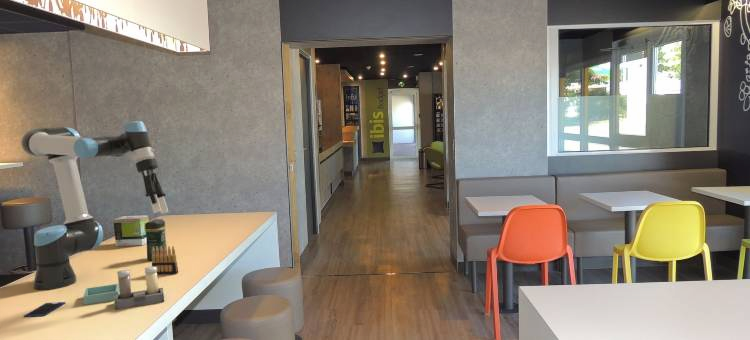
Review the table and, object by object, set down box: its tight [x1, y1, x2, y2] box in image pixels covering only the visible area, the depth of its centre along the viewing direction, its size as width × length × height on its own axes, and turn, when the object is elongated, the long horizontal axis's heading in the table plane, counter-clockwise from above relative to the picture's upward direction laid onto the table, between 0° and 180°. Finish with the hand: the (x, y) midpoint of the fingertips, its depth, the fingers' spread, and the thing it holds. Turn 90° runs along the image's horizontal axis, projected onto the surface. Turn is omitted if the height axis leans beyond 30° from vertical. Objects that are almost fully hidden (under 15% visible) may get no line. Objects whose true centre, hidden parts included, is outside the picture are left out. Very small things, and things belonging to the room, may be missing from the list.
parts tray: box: [82, 283, 120, 306], centre depth 208 cm, size 11×11×3 cm
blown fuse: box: [116, 269, 132, 299], centre depth 199 cm, size 4×4×12 cm
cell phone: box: [23, 301, 66, 318], centre depth 198 cm, size 7×14×1 cm, turn 0°
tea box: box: [113, 214, 150, 247], centre depth 300 cm, size 15×10×15 cm, turn 84°
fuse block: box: [114, 287, 165, 310], centre depth 201 cm, size 16×8×3 cm, turn 113°
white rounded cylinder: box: [144, 265, 159, 295], centre depth 203 cm, size 4×4×12 cm
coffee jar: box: [145, 218, 168, 261], centre depth 265 cm, size 10×8×19 cm
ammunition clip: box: [151, 245, 179, 276], centre depth 238 cm, size 11×2×12 cm, turn 86°
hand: (161, 212), depth 216 cm, fingers open, 13 cm apart
